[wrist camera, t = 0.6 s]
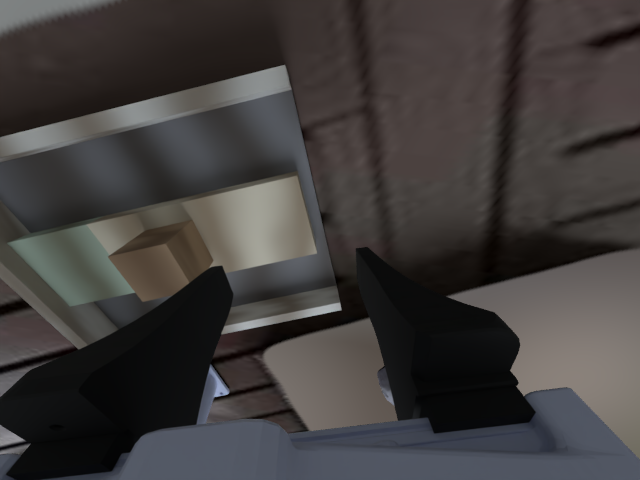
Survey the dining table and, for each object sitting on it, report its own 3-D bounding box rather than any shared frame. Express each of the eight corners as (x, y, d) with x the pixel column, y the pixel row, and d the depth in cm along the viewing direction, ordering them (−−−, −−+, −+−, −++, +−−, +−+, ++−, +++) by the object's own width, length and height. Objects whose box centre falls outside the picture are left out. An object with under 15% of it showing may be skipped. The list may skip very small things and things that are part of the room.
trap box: (117, 335, 27) (93, 363, 24) (-48, 158, 17) (-122, 166, 14) (337, 290, 25) (342, 312, 22) (288, 73, 16) (284, 63, 13)
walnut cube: (170, 270, 20) (142, 301, 17) (145, 230, 18) (107, 256, 15) (213, 260, 20) (194, 290, 17) (192, 219, 18) (165, 243, 15)
